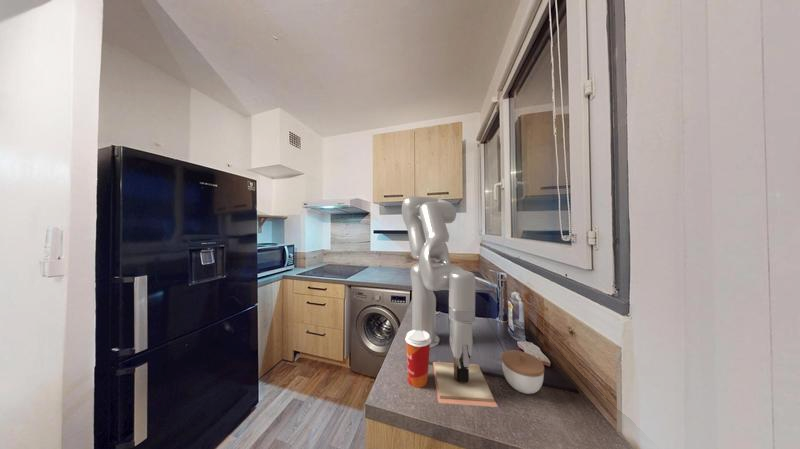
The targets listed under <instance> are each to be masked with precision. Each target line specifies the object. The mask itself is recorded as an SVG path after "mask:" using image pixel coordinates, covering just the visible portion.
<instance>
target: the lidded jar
mask: <svg viewBox="0 0 800 449" xmlns="http://www.w3.org/2000/svg"><path fill="white" fill-rule="evenodd" d="M501 361H502V362H501V364H502V366H501V367H502V371H503V375H504V378H505V380H506V381H507V383H508V384H509V385H510V386H511V387H512V388H513V389H514V390H516V391H517V392H519V393H523V394H525V395H531V394H535V393H537V392H539V391H540V390H541V388H542V386H543V383H544V376H545V366H544V363H543V362H542V361H541V360H540V359H539V358H537V357H536V356H534V355H532V354H530V353H527V352H524V351H520V350H516V349H515V350H513V349H511V350H507V351H506V350H505V351H504V352H503V353H502V354H501Z"/></svg>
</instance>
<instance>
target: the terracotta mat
mask: <svg viewBox="0 0 800 449" xmlns="http://www.w3.org/2000/svg"><path fill="white" fill-rule="evenodd" d="M435 362H436V363H443V362H439V361H433V362H432V367H433V374H434V380H435V387H436V388H435V389H436V394H437V396H436V397H437V401H438V402H437V403H438V404H446V405H447V404H449V405H462V406H474V407H476V406H477V407H491V408H498V407H499V406H498V404H497V403H496V399H495V398H494V396H493V393H492V391H491V389H490V388H489V390H490V392H491V394H492V396H493V398H494V402H485V401H471V400H456V399H441V398H440V397H439V391H438V384H437V377H436V370H435ZM452 363H453V364H454V362H452ZM470 364H471V365H478V366H479V364H475V363H470ZM479 368H480V366H479ZM480 370H481V371H482V369H481V368H480ZM482 375H483V377H484V379H485V375H484V374H483V373H482ZM485 381H486V383H487V380H486V379H485ZM487 385H488V386H489V384H488V383H487Z"/></svg>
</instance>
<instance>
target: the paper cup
mask: <svg viewBox="0 0 800 449" xmlns="http://www.w3.org/2000/svg"><path fill="white" fill-rule="evenodd" d="M404 339H405V342H406V364H407V366H406V369H407V381H408V384H409V385H410V386H412V387H413V388H424V387H425V386H427V383H428V376H429V363H430V361H429V360H430V343H431V338H430V335H429V334H428V333H427V332H426V331H421V330H418V331H417V330H412V329H411V330H410V331H408V332H407V333H406V336H405V338H404Z"/></svg>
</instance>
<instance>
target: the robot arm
mask: <svg viewBox="0 0 800 449" xmlns="http://www.w3.org/2000/svg"><path fill="white" fill-rule="evenodd" d="M401 216H402V219H403V222H404V224H405V227H406V229H407V234H408V243H409V249H410V254H411V257H412V258H413V259H414V260H418V262H417V263H415V264H413V265H412V266H411V268H410V272H409V274H410V280H411V292H412V293H411V294H412V295H411V296H412V298H411V300H412V301H411V302H412V304H411V306H412V307H411V308H412V309H411V314H412V315H411V330H417V331H418V330H421V331H426V332H427V333H428V334H429V335H430V338H431V343H430V348H431V349H432V348H434V347H437V346H438V345H439V344H440V337H439V336H438V334H436V327H437V326H436V323H437V322H436V321H437V318H436V317H437V316H436V314H437V312H436V311H437V309H436V308H437V296H436V295H435V292H436V291H437V292H438V291H445V290H446V291H448V318H449V320H450V322H449V323H450V325H449V346H450V349H451V353H452V355H453V358H454V357H455V358H456V359H457V358H458V366H457V381H458V382H468V381H469V364H470V360H472V359H473V350H474V349H473V348H474V347H473V343H474V342H473V323H474V322H476V275H475V274H474V273H473V272H472V271H468V270H465V269H463V268H462V267H460V266H457V265H452V262H451V258H450V253H449V248H448V246H447V242H448V240H449V239H450V234H449V231H448V228H447V224H452V223H454V222H455V221H456V217H457V210H456V208H455V206H454V205H453V203H452V202H449V201H447V200H445V199H442V198H439V197H434V196H433V197H430V196H420V195H419V196H417V195H416V196H408V197H406V198H404V200H402V204H401ZM432 260H434V261H432ZM461 354H462V355H463V356H462V355H461ZM461 359H463V362H461Z"/></svg>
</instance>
